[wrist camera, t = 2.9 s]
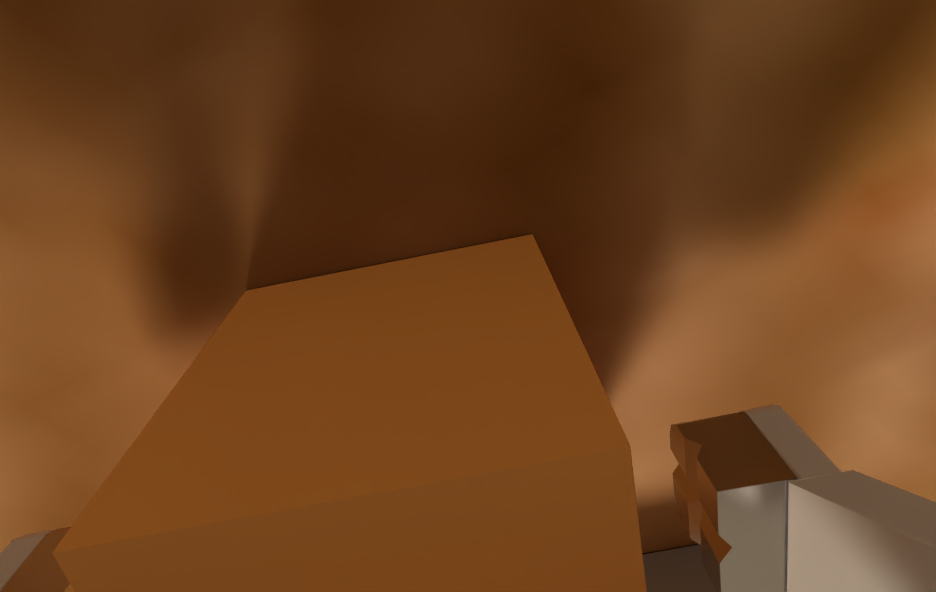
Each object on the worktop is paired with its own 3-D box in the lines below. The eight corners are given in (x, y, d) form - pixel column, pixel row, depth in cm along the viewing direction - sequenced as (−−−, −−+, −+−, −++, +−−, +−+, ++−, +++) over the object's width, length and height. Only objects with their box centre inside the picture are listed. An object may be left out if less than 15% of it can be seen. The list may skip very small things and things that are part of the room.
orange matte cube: (246, 290, 11) (52, 553, 6) (532, 233, 11) (629, 446, 5) (325, 516, 13) (240, 879, 7) (570, 470, 13) (671, 807, 7)
